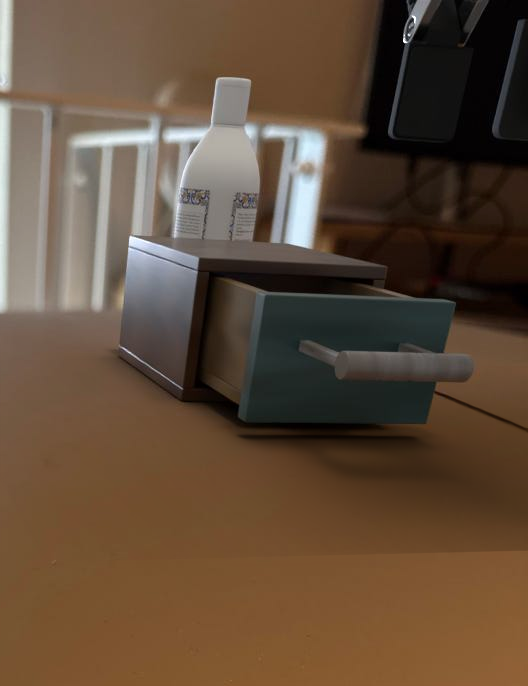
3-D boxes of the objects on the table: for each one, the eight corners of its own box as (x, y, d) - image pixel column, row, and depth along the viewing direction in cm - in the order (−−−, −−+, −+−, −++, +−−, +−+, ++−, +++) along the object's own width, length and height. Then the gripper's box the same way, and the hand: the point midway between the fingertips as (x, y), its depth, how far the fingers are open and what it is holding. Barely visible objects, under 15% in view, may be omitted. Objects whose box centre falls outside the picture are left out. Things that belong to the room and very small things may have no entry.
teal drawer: (488, 453, 51) (525, 320, 48) (290, 453, 48) (316, 312, 45) (320, 374, 68) (340, 271, 65) (167, 371, 65) (180, 264, 62)
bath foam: (235, 324, 92) (271, 84, 83) (241, 336, 86) (280, 78, 77) (163, 318, 93) (190, 79, 83) (164, 329, 86) (194, 72, 77)
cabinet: (359, 403, 64) (388, 266, 60) (181, 401, 61) (199, 257, 57) (269, 359, 77) (288, 243, 73) (117, 355, 74) (129, 234, 70)
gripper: (393, -304, 42) (319, 135, 50) (658, -554, 27) (491, 133, 35) (551, -282, 43) (454, 145, 51) (892, -512, 28) (679, 148, 36)
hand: (469, 140), depth 43 cm, fingers open, 9 cm apart
